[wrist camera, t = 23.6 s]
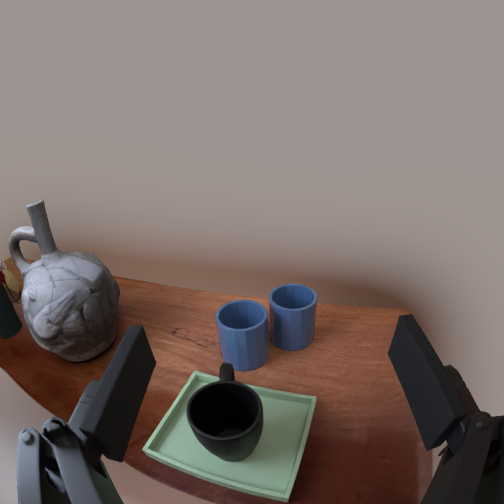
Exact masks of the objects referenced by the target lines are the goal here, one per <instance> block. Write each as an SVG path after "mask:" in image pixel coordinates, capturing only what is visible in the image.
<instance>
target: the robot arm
mask: <svg viewBox="0 0 504 504" xmlns="http://www.w3.org/2000/svg"><path fill="white" fill-rule="evenodd" d="M388 355H389V358H390V360H391V362H392V364H393V367H394V369H395V371H396V374H397V376H398V378H399V381H400V383H401V385H402V388H403V390H404V393H405V395H406V397H407V400H408V402H409V405H410V408H411V410H412V413H413V415H414V418H415V420H416V423H417V426H418V429H419V431H420V434H421V437H422V440H423V442H424V445H425V448H426V451H428V450H430V449H433V448H436V447H438V446H440V445H441V444H442V443H443V442H444V441H445V440H446V441H447V444H448V445H447V446H446V447H445V448H444V449H443V450H442V451H441V452H440V453H439V455H438V456H441V455H442V454H443V455H442V458H441V461H440V463H439V465H438V468H437V470H436V472H435V475H434V477H433V479H432V481H431V484H430V486H429V488H428V490H427V492H426V494H425V496H424V498H423V500H422V502H421V504H504V416H496V417H491V416H490V414H488V413H486V412H483V411H480V410H479V408H478V406H477V405H476V403H475V401H474V399H473V397H472V395H471V393H470V392H469V390H468V388H467V387H466V384H465V382H464V381H463V380H462V377H461V375H460V374H459V372H458V371H457V370H456V369H455V368H454V367H452V366H451V365H447V366H443V364H442V362H441V361H440V359H439V357H438V356H437V354H436V352H435V350H434V349H433V347H432V345H431V344H430V342H429V341H428V339H427V337H426V336H425V334H424V333H423V331H422V329H421V328H420V326H419V325H418V323H417V321H416V320H415V318H414V317H413V315H412V314H409V315H402V316H399V319H398V323H397V326H396V330H395V333H394V336H393V339H392V342H391V345H390V349H389V352H388ZM155 365H156V361H155V358H154V356H153V353H152V350H151V348H150V345H149V342H148V340H147V337H146V334H145V331H144V328H143V326H135V325H130V326H129V328H128V330H127V331H126V333H125V335H124V337H123V339H122V341H121V342H120V344H119V346H118V348H117V350H116V352H115V354H114V356H113V358H112V359H111V361H110V363H109V365H108V367H107V369H106V371H105V373H104V375H103V377H102V379H101V380H96V379H93V380H92V381H91V382H90V383H89V384H88V385H87V386H86V388H85V390H84V392H83V394H82V396H81V398H80V400H79V403H78V404H77V406H76V408H75V410H74V412H73V414H72V416H71V418H70V420H69V422H68V424H66V423H65V421H64V420H62V419H61V418H58V417H53V418H50V419H48V420H46V422H45V423H44V424H43V426H42V434H40V433H39V432H37V430H35V429H34V428H31V427H28V428H25V429H23V430H22V431H21V433H20V434H19V437H18V452H17V489H18V504H124V503H123V501H122V500H121V498H120V496H119V494H118V492H117V490H116V488H115V486H114V484H113V482H112V480H111V478H110V476H109V474H108V472H107V470H106V468H105V466H104V463H103V462H102V460H101V459H100V458H101V455H102V454H103V455H104V456H105V457H107V458H108V459H111V460H114V461H118V462H123V458H124V455H125V452H126V449H127V446H128V443H129V439H130V436H131V433H132V430H133V427H134V424H135V421H136V418H137V415H138V412H139V409H140V406H141V404H142V401H143V398H144V395H145V392H146V389H147V386H148V384H149V381H150V378H151V375H152V373H153V370H154V367H155Z"/></svg>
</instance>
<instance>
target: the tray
mask: <svg viewBox="0 0 504 504" xmlns="http://www.w3.org/2000/svg"><path fill="white" fill-rule="evenodd" d="M216 381H219V377H215V376H212V375H208V374H204V373H201V372H197V371H194V372H193V374H192V375H191V377H190V378H189V380H188V381H187V383H186V384H185V386H184V388H183V389H182V391H181V392H180V394H179V395H178V397H177V398H176V400H175V401H174V403H173V404H172V406H171V407H170V409H169V410H168V412H167V413H166V415H165V416H164V418H163V419H162V421H161V422H160V424H159V425H158V427H157V428H156V430H155V431H154V433H153V434H152V436H151V437H150V438H149V440H148V441H147V443H146V444H145V446H144V447H143V449H142V450H143V451H144V453H145V454H146V455H147V456H149V457H151V458H153V459H155V460H157V461H159V462H161V463H163V464H166V465H168V466H170V467H172V468H175V469H177V470H180V471H182V472H184V473H187V474H190V475H192V476H195V477H197V478H200V479H203V480H206V481H208V482H211V483H214V484H217V485H220V486H224V487H227V488H230V489H233V490H237V491H240V492H244V493H248V494H252V495H256V496H260V497H264V498H269V499H273V500H278V501H284V502H288V500H289V497H290V494H291V491H292V488H293V485H294V482H295V479H296V476H297V472H298V469H299V466H300V462H301V459H302V455H303V452H304V448H305V445H306V441H307V437H308V433H309V429H310V425H311V421H312V417H313V413H314V409H315V405H316V399H317V397H315V396H308V395H302V394H296V393H290V392H284V391H278V390H273V389H268V388H263V387H258V386H253V385H249V384H245V385H247V386H249V387H250V388H252V389H253V390H254V391H255V392H256V393H257V394H258V395H259V397H260V399H261V401H262V406H263V418H264V423H263V430H262V434H261V437H260V439H259V442H258V444H257V446H256V447H255V448H254V450H253V452H252V453H251V454H250V455H249V456H248V457H247V458H245V459H243V460H241V461H237V462H228V461H225V460H222V459H220V458H219V457H217V456H215V455H214V454H212V453H210V452H209V451H208V450H207V449H206V448H205V447H204V446H203V445H202V444H200V442H199V441H198V440H197V438H196V437H195V435H194V433H193V431H192V429H191V427H190V425H189V423H188V420H187V416H186V407H187V404H188V401H189V399H190V398H191V396H192V395H193V394H194V393H195V392H196V391H197V390H198V389H200V388H201V387H203V386H205V385H207V384H209V383H212V382H216ZM243 384H244V383H243Z"/></svg>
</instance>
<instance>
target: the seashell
mask: <svg viewBox="0 0 504 504" xmlns="http://www.w3.org/2000/svg"><path fill="white" fill-rule="evenodd" d="M0 271H1V270H0ZM2 272H3V273H4V275H5V277H6V279H5V280H6V282H7V286H8V288H9V290H10V291H11V293H12V295H13V297H14V299H15V300H16V299H17V298H18V297H19V291H20V285H19V282H18V280H17V278H16V277H15V275H14V274H13V273H12V272H10V271H9V270H6V269H4V270H2ZM3 285H4V287H5V289H6V292H7V294H8V296H9V299H10V301H15V300H14V299H13V298H12V296H11V294H10V293H9V291H8V289H7V287H6V285H5V284H4V283H3Z"/></svg>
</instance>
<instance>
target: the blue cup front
mask: <svg viewBox="0 0 504 504" xmlns="http://www.w3.org/2000/svg"><path fill="white" fill-rule="evenodd" d="M215 319H216V325H217V331H218V337H219V343H220V348H221V354H222V357H223V361H224V363H230V364H232V366H233V369H234V370H238V371H251V370H254V369H257V368H259V367H261V366H262V365H263V364H264V363H265V362H266V361H267V359H268V354H269V353H268V319H267V310H266V308H265V307H264V306H263V305H262V304H260V303H258V302H256V301H251V300H236V301H232V302H228V303H227V304H225V305H223V306H221V307H220V309H219V310H218V311H217V312H216V317H215Z"/></svg>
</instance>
